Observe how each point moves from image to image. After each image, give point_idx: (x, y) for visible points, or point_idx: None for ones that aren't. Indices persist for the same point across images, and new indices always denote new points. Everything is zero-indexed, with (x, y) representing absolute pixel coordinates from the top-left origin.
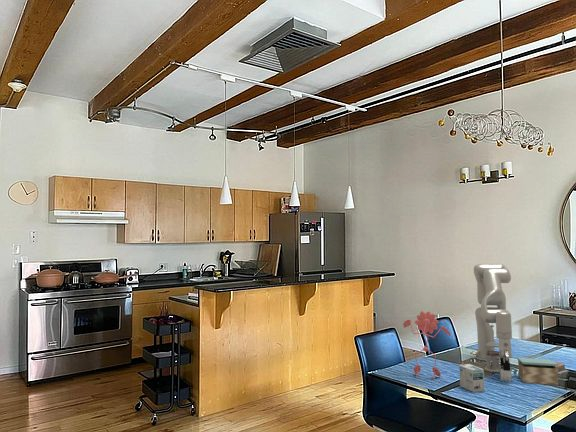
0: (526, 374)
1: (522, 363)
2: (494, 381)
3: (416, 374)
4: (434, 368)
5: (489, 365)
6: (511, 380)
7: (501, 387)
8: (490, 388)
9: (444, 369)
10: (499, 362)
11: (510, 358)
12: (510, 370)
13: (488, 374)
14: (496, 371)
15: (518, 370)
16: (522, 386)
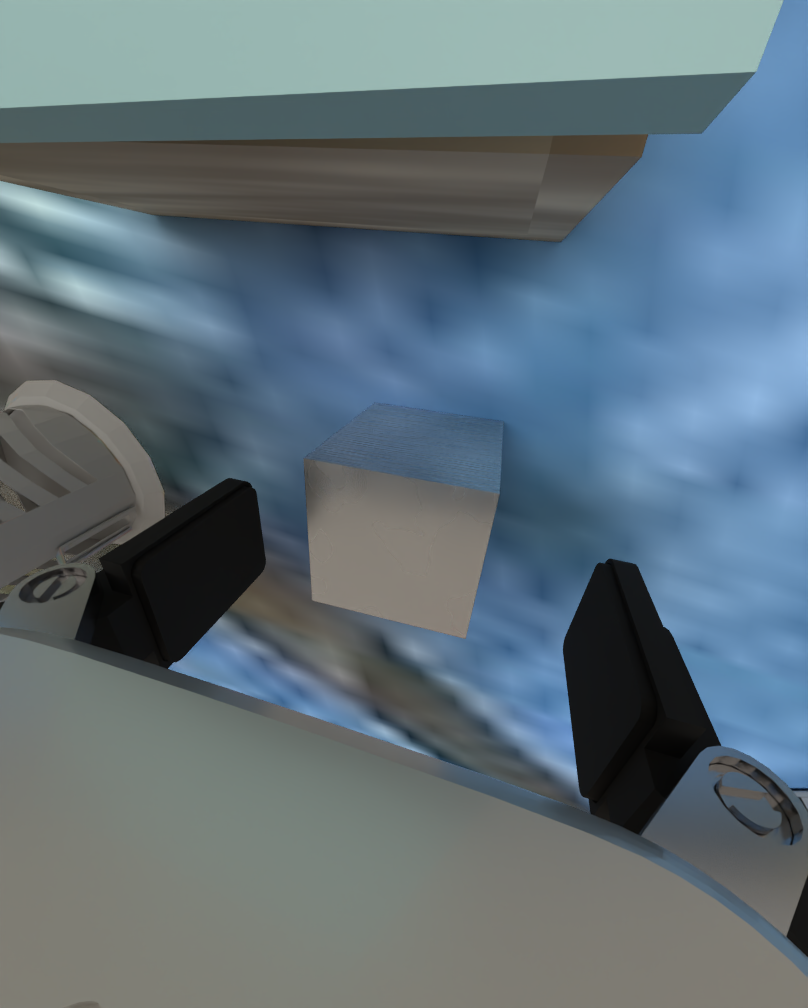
0: None
1: (719, 106)
2: (519, 604)
3: None
4: None
5: (102, 548)
6: (502, 425)
7: (770, 620)
8: (779, 719)
9: None
10: (2, 464)
11: (627, 845)
12: (497, 498)
13: (283, 572)
14: (153, 471)
15: (97, 201)
16: (798, 327)
